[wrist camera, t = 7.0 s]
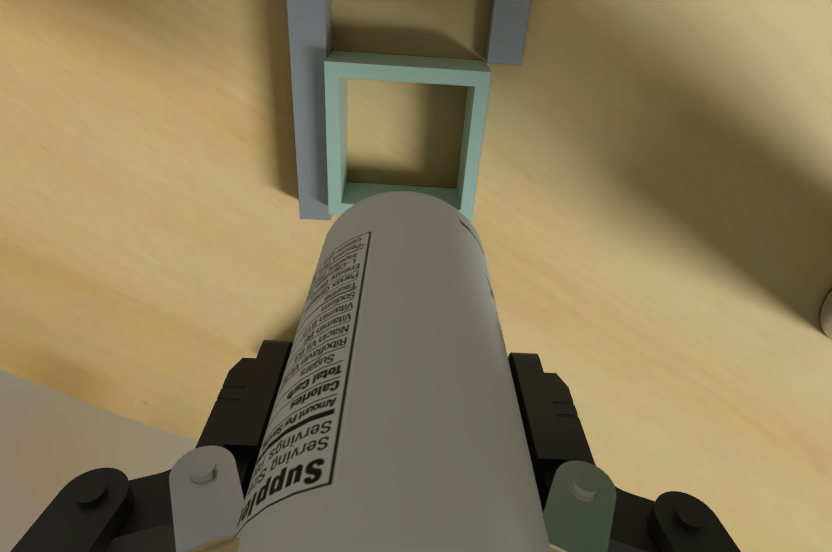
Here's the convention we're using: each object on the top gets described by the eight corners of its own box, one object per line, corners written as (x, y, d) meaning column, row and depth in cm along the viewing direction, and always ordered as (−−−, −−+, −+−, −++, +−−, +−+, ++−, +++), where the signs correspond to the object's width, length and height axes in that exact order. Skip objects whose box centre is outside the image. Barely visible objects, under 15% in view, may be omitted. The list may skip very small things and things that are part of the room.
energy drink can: (435, 336, 22) (463, 850, 10) (302, 283, 21) (126, 805, 8) (511, 222, 19) (694, 740, 7) (363, 151, 18) (239, 640, 5)
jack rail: (572, -289, 24) (595, -323, 21) (494, 213, 37) (501, 236, 34) (278, -316, 23) (258, -354, 20) (306, 203, 36) (296, 226, 33)
